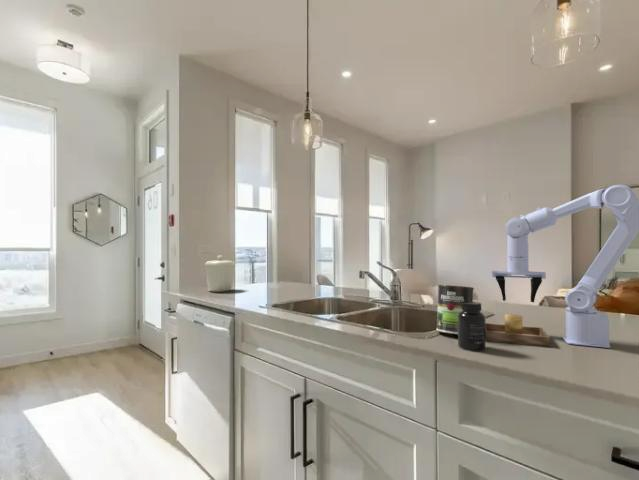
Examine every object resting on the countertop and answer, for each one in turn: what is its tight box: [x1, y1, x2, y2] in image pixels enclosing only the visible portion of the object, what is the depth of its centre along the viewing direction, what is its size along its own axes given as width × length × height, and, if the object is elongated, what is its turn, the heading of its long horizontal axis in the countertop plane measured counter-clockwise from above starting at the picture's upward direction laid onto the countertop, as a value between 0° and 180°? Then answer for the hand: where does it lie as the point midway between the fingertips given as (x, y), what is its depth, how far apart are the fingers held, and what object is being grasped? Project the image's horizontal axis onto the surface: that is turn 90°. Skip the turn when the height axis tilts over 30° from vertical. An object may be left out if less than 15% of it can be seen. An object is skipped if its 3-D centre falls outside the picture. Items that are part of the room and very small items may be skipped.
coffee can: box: [435, 284, 474, 335], centre depth 108 cm, size 10×10×14 cm
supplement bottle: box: [457, 301, 487, 352], centre depth 93 cm, size 7×7×12 cm
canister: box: [203, 254, 236, 293], centre depth 208 cm, size 18×18×21 cm
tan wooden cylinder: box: [504, 313, 523, 334], centre depth 102 cm, size 4×4×6 cm
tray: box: [486, 322, 551, 348], centre depth 102 cm, size 16×12×3 cm
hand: (518, 301), depth 109 cm, fingers open, 7 cm apart
